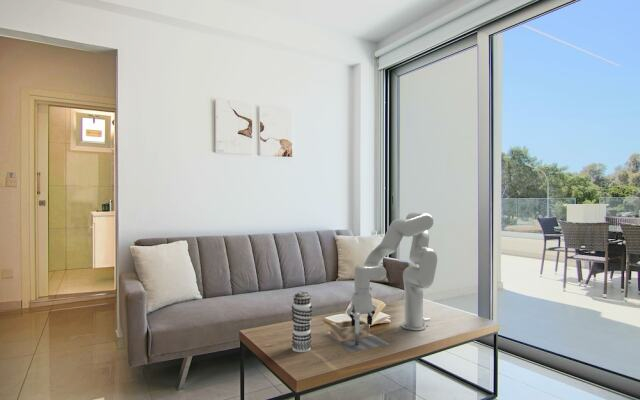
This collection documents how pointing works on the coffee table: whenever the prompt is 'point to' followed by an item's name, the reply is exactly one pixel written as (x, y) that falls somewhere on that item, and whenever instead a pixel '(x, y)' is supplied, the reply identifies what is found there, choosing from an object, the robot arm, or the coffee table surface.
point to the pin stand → (358, 339)
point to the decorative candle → (301, 322)
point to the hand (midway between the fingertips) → (361, 325)
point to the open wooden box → (348, 329)
